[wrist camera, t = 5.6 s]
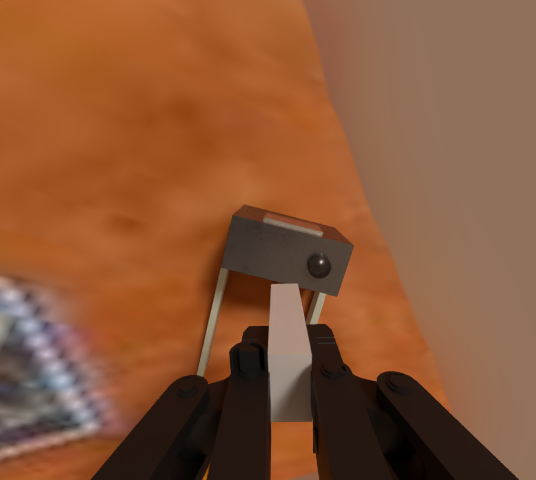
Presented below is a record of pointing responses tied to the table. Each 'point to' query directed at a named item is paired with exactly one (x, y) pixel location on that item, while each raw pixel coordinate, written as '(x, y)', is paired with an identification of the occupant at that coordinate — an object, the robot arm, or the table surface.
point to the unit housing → (286, 250)
